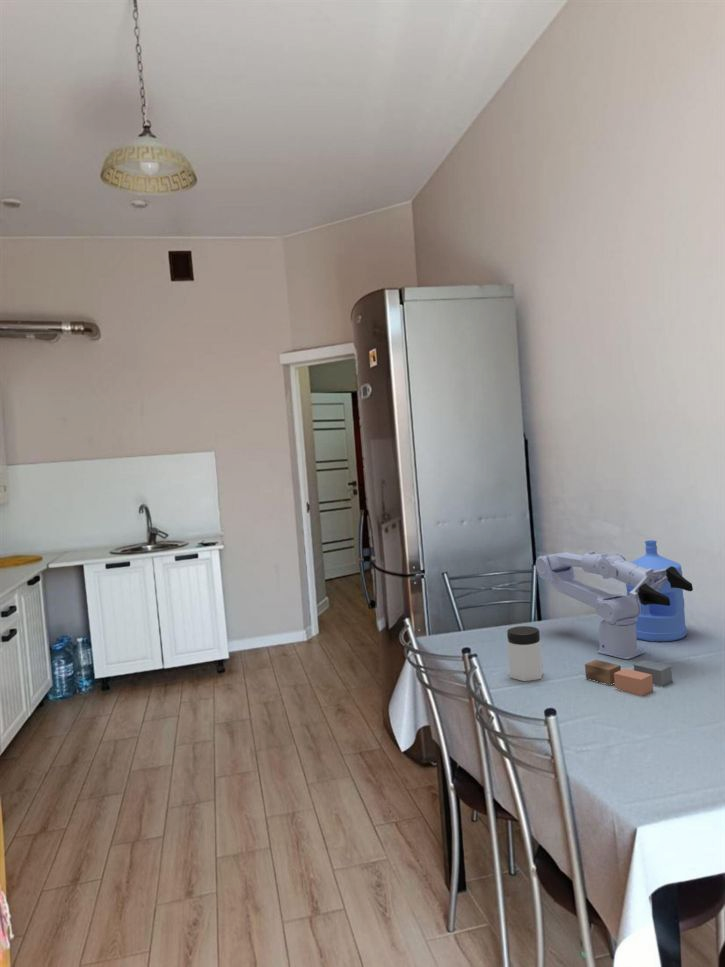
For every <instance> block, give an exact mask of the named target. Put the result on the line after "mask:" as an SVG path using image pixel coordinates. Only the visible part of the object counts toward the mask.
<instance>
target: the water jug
mask: <svg viewBox="0 0 725 967" xmlns="http://www.w3.org/2000/svg"><path fill="white" fill-rule="evenodd" d="M644 543H645V548H644V549H645V554H644V555H643V556H640V557H639V558H637V559H634V560H631V562H630V561H629V562H630V563H633V564H635V565H638V566H640V567H643V568H645V569H650V568H651V569H653V571H656V570H661V569H666V568H669V567H671V566H673V567H675V568H676V570H677V571H678V572H679V573H680V575H681V576H682V577H683V571H682V565H681V563H678V562H676V561H674V560H671V559H669V558H667V557H664V556H661V555H660V554H659V553H658V546H657V543H658V542H657V540H653V539H651V540H646V541H645V540H644ZM625 587H626V596H627V595H630V594H629V592H631V591H632V590H633V589H634V588H635V587H633V586H630V585H628V584H626V583H625ZM657 592H659V593H661V594H663V595H665V596H667V597H669V600H670V605H669V606H666V605H658V604H649V605H643V604H641V601H640V599H639V602H640V605H641V613H640V615H639V616H638V617H637V621H636V636H637V640H642V641H646V642H647V641H648V642H658V641H662V642H663V643H664V642H672V641H678V640H680V639H683V638H684V637H685V636H687V626H686V616H685V598H684V590H683V589H680V588H671V586H670V582H668V580H667V581H666V582H665V583H664V584H663V585H662V586H661V588H660V589H659V590H658V591H657Z"/></svg>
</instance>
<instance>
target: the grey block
mask: <svg viewBox="0 0 725 967" xmlns="http://www.w3.org/2000/svg"><path fill="white" fill-rule="evenodd" d="M633 670H634V671H638V672H643V673H647V674H652V683H653V684H655V685H654V686H657V685H659V686H658V687H661V686H663V687H665V686H667V685H668V683H669V684H671V683H673V671H672V666H671V665H669V664H663V663H659V662H655V661H649V660H645V659H644V660H641V661H639V662H637V663H635V664H633ZM670 682H671V683H670ZM666 684H667V685H666ZM664 685H665V686H664Z"/></svg>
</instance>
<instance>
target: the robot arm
mask: <svg viewBox="0 0 725 967" xmlns="http://www.w3.org/2000/svg"><path fill="white" fill-rule="evenodd" d="M574 567H576V568H581V569H582V570H583V571H584V572H585V573H588V574H594V575H600V576H602V579H604V580H608V579H614V580H617V581H618V582H621V583H624V584H625V585H626V584H628V585H630V586H633V587H635V588H634V589H633V590H632V591H631V592H629V594H630V595H627V594H626V595H624V594H619V593H609V592H607V591H604V590H602V589H599V588H596V587H594V586H592V585H589V584H587V583H584V582H582V581H580V580H577V579H576V578H575V577H576V575H575V572H574ZM535 568H536V571H537V573H538V575H539V578H541V579H543V580H546V581H547V582H549V584H550V585H551V586H552V587H553V588H554V589H555V590H556V591H557V592H559V594H563V595H565V596H567V597H570V598H572V599H574V600H577V601H578V602H581V603H583V604H585V605H588V606H590V607H592V608H594V609H595V612H596V615H597V616H600V617H601V618H602V619H603V620H602V621H600V623H599V626H598V640H599V642H598V643H599V644H598V645H599V650H598V651H597V652H598V654H602V655H605V656H606V655H607V656H612V657H615V658H620V659H623V660H624V659H625V660H629V659H630V660H631V659H633V658H635V657H638V656H641V655H643V654H645V650H642V649H639V648H638V638H637V636H636V621H637V617H638V616H639V615H640V613H641V605H640V602H639V599H640V601H641V604H643V605H649V604H658V605H666V606H669V605H670V600H669V597H667V596H665V595H663V594H661V593H659V592H657V591H658V590H659V589H660V588H661V586H662V585H663V584H664V583H665V582H666V581H667V580H668V582H670V586H671V588H680V589H683V591H686V592H693V590H694V588H693V587H694V586H693V584H692V582H690V581H689V580H688V579H686V578H685V577H684V576H683V575H682V576H681V575H680V573H679V572H678V571H677V570H676V568H675V567H673V566H671V567H669V568H666V569H661V570H656V571H653V569H651V568H650V569H645V568H643V567H640V566H638V565H635V564H633V563H630V561H628V560H627V559H626V558H625V556H623V555H621V554H619V553H616V554H613V555H608V553H606V552H605V553H601V554H599V553H596V551H593V550H592V551H591V550H590V551H588V552H587V553H585V554H583V555H581V554H577V553H576V554H575V553H572V552H569V551H566V552H565V551H561V552H559V553H552V554H548V555H539V556H538V557H537V558H536V560H535Z"/></svg>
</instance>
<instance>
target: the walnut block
mask: <svg viewBox="0 0 725 967" xmlns="http://www.w3.org/2000/svg"><path fill="white" fill-rule="evenodd" d="M584 668H585V670H584V671H585V679H586V678H587V679H586V680H588V679H591V680H595V681H598V682H597V683H599V682H602V683H606V684H610V685H611V684H613V683H615V681H614V673H616V672H618V671H620V670H622V668H621V664H616V663H613V662H608V661H603V660H599V659H594V660H591V661H589V662H587V663H585V664H584ZM591 680H590V681H591ZM595 681H594V682H595ZM602 683H601V684H602ZM606 684H605V685H606ZM610 685H609V686H610ZM613 685H614V684H613ZM611 686H612V685H611Z"/></svg>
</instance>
